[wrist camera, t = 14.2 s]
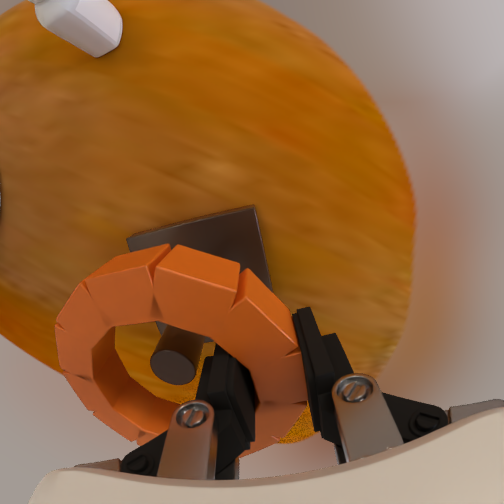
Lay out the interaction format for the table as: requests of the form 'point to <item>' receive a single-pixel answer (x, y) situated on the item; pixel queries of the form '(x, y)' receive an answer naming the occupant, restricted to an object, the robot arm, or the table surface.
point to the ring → (187, 318)
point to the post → (215, 243)
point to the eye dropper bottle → (82, 23)
